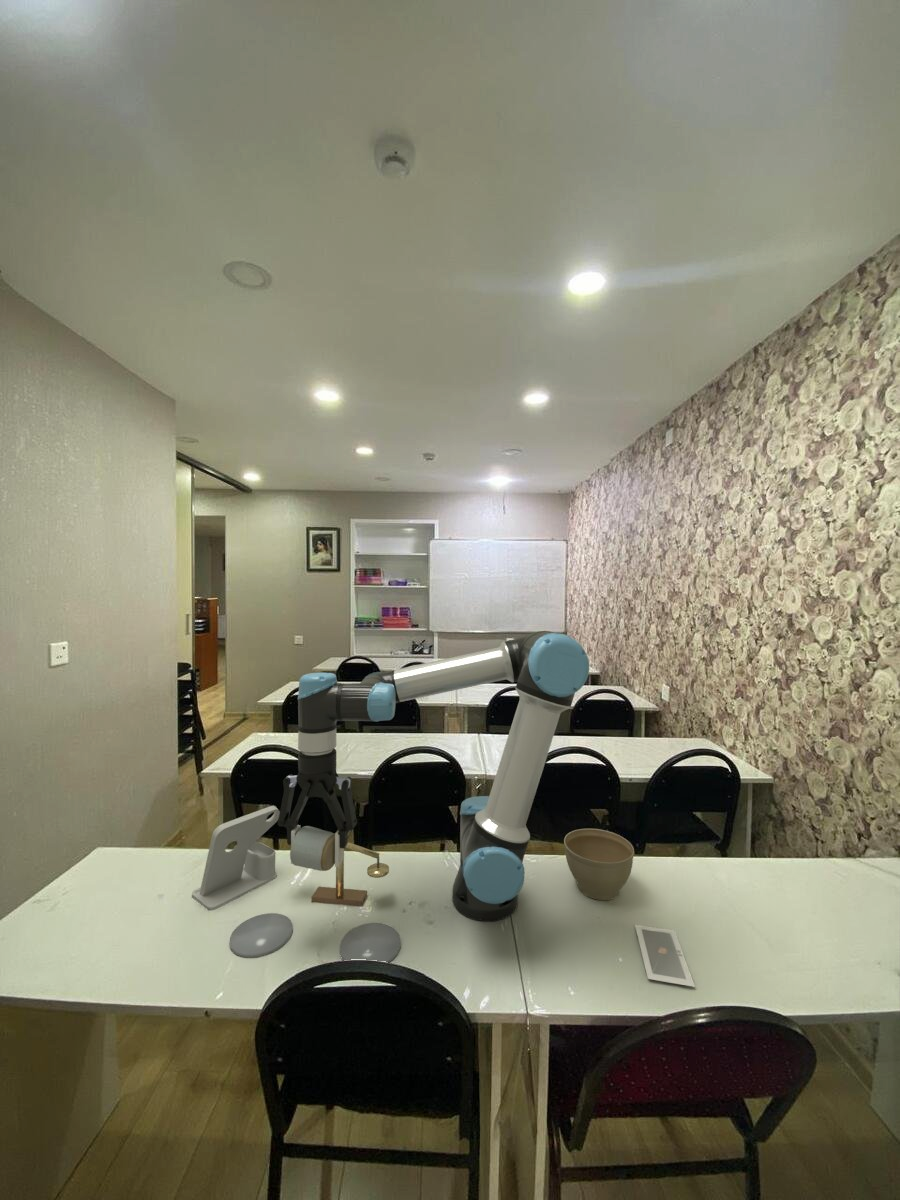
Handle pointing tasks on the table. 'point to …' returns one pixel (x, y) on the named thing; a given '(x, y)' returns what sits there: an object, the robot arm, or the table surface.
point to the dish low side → (371, 943)
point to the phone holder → (237, 860)
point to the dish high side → (261, 935)
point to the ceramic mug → (313, 849)
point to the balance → (339, 893)
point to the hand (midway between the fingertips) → (317, 861)
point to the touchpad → (663, 956)
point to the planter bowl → (599, 861)
